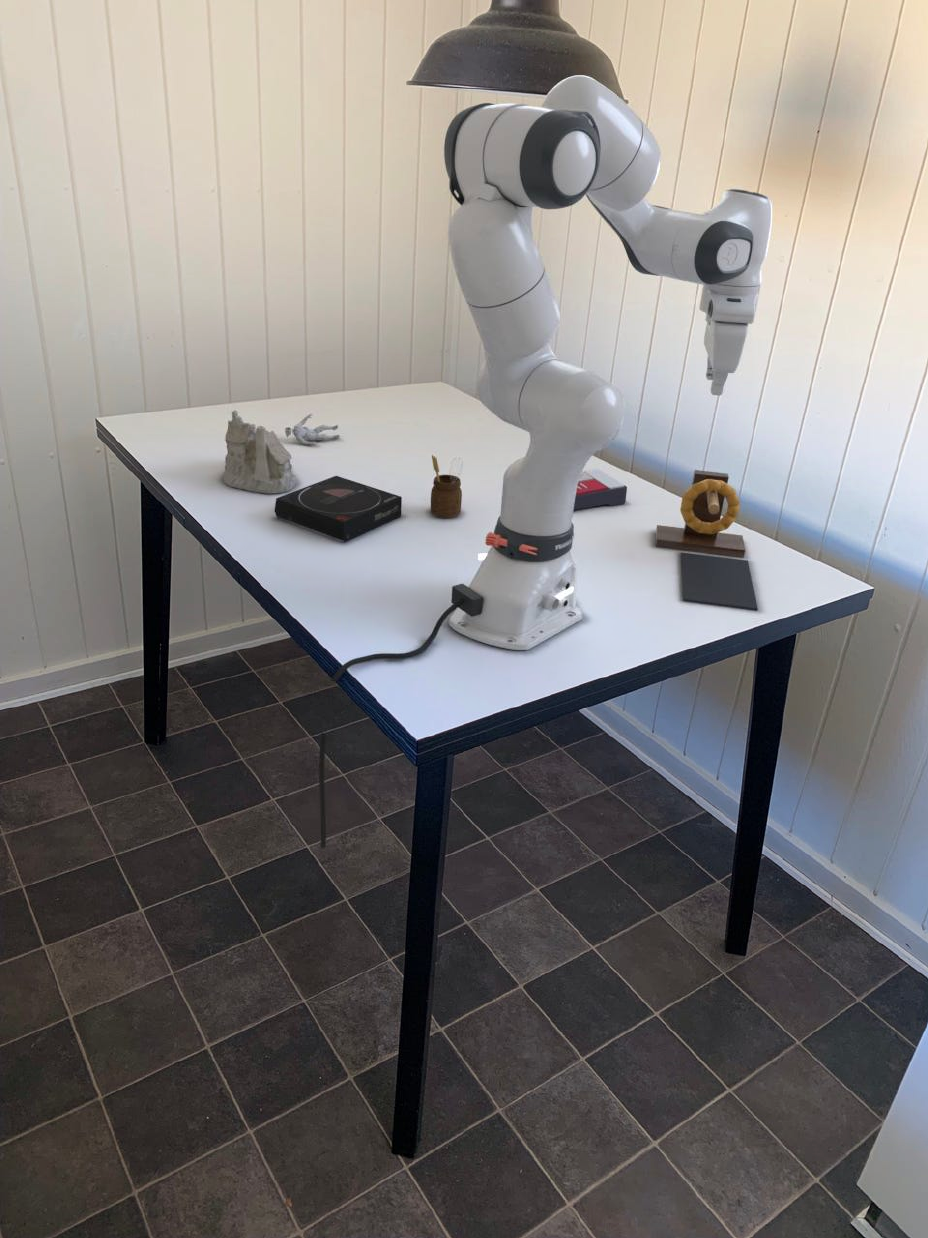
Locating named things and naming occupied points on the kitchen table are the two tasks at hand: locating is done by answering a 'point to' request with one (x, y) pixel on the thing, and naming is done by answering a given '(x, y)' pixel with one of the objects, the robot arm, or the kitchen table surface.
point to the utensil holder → (446, 494)
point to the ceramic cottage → (256, 459)
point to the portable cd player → (338, 508)
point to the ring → (704, 487)
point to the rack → (705, 510)
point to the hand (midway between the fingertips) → (713, 386)
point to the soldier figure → (310, 432)
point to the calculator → (598, 490)
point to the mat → (717, 581)
